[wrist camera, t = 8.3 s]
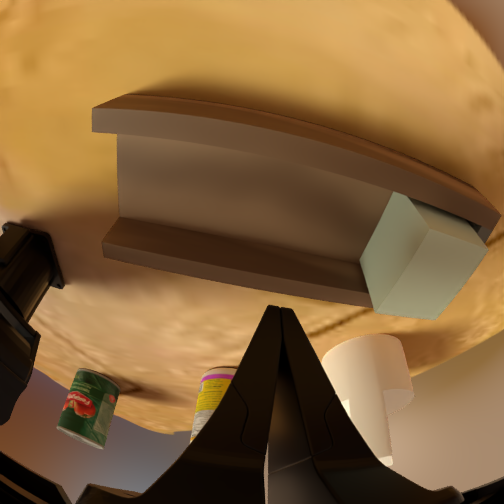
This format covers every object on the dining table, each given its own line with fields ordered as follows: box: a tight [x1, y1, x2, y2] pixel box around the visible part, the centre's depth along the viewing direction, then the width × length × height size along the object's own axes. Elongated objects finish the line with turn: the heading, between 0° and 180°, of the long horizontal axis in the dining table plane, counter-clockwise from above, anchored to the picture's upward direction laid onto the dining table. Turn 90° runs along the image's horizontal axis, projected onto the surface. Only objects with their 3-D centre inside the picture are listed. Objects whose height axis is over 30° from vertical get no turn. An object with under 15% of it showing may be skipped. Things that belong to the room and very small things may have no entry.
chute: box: [92, 94, 501, 308], centre depth 15 cm, size 9×22×4 cm, turn 79°
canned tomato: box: [57, 368, 120, 449], centre depth 34 cm, size 8×8×11 cm
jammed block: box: [359, 191, 489, 320], centre depth 15 cm, size 6×5×4 cm
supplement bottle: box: [190, 368, 237, 443], centre depth 27 cm, size 7×7×13 cm
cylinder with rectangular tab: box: [321, 334, 414, 466], centre depth 23 cm, size 9×9×12 cm
